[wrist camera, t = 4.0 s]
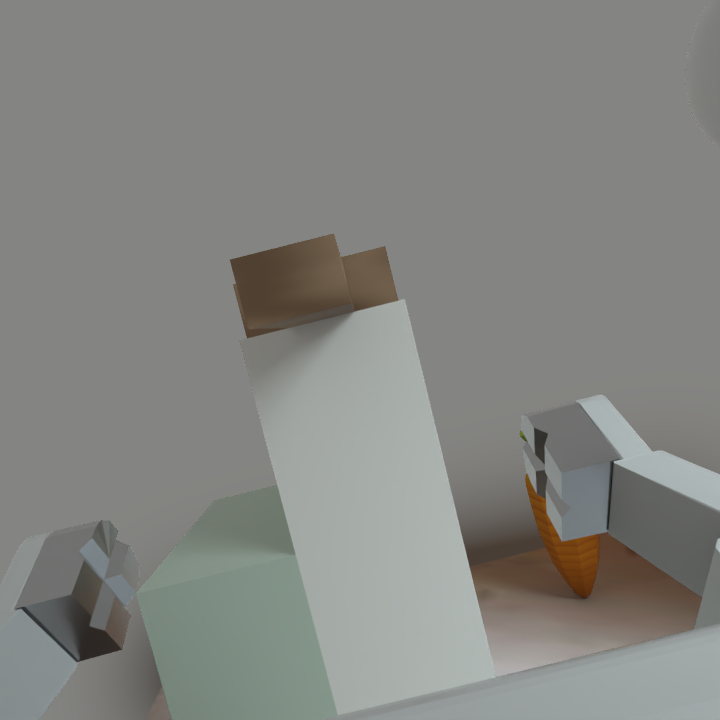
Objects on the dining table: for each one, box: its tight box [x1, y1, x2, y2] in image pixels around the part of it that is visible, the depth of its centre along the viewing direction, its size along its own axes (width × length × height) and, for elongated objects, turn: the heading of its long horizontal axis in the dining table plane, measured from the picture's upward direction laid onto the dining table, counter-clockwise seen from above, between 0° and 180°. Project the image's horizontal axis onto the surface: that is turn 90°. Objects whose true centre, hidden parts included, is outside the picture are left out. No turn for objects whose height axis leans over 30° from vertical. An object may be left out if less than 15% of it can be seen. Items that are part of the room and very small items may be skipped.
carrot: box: [520, 430, 599, 598], centre depth 42 cm, size 5×5×15 cm
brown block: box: [230, 234, 398, 338], centre depth 24 cm, size 7×18×2 cm, turn 0°
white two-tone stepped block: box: [136, 299, 496, 720], centre depth 31 cm, size 15×13×26 cm
